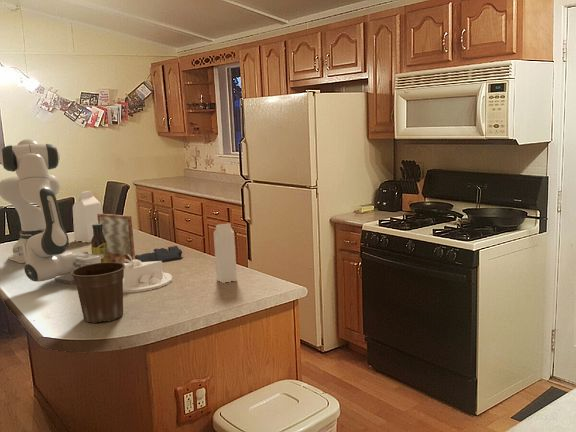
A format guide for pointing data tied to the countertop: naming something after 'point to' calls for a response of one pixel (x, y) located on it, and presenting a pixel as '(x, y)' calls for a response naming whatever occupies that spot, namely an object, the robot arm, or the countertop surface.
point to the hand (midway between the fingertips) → (94, 254)
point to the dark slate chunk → (161, 255)
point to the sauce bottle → (99, 242)
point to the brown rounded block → (121, 260)
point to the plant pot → (100, 290)
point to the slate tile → (65, 279)
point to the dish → (144, 276)
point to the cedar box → (117, 236)
